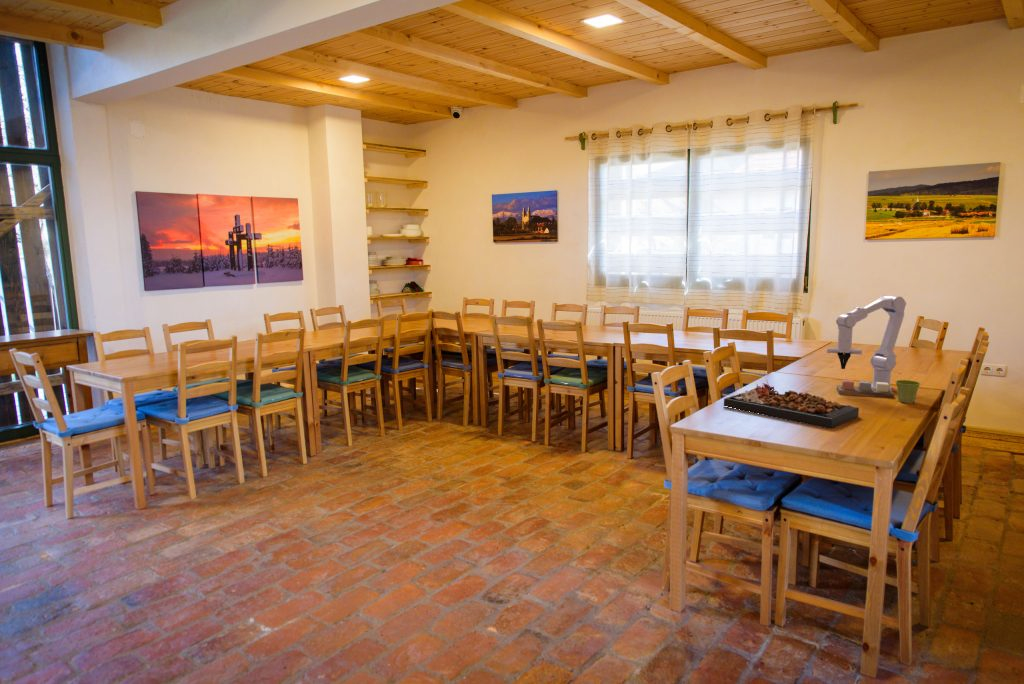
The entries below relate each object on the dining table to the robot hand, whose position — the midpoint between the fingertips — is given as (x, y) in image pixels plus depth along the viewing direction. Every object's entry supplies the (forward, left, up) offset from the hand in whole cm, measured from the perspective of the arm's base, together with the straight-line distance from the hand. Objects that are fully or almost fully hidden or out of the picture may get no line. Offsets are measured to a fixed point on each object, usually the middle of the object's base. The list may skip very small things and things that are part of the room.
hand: (843, 368), depth 299 cm
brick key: (+4, +2, -9) cm, 10 cm away
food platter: (+50, -24, -11) cm, 57 cm away
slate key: (+4, +9, -8) cm, 13 cm away
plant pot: (+15, +24, -11) cm, 30 cm away
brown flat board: (+4, +9, -10) cm, 14 cm away
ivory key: (+4, +16, -8) cm, 19 cm away
